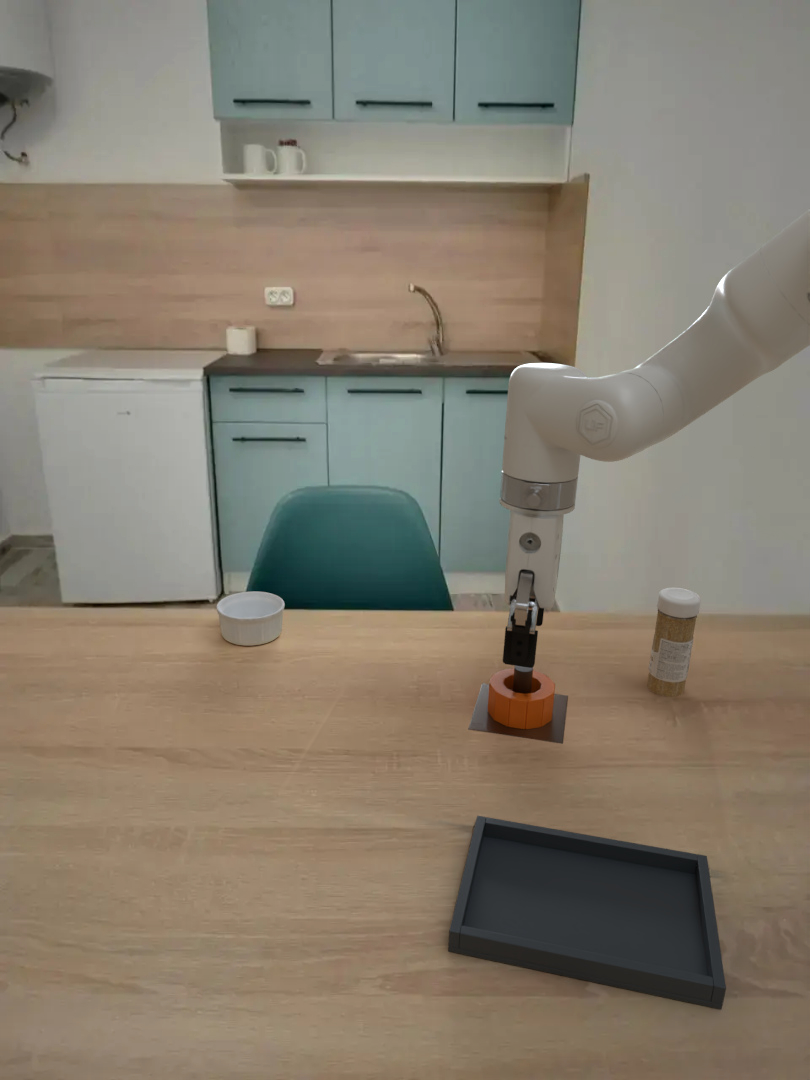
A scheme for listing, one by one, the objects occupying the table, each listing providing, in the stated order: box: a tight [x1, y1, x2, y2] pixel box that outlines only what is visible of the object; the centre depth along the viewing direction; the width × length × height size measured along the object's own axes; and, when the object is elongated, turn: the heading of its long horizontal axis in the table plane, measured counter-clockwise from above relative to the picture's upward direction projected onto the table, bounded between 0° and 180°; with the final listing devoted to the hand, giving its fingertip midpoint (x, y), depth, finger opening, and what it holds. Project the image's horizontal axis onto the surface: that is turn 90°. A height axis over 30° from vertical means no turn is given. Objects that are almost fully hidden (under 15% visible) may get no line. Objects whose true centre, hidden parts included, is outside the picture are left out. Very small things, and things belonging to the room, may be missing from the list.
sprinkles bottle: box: [646, 587, 701, 698], centre depth 95 cm, size 5×5×13 cm
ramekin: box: [216, 590, 286, 647], centre depth 110 cm, size 9×9×4 cm
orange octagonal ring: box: [488, 667, 556, 729], centre depth 91 cm, size 7×7×4 cm
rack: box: [468, 665, 569, 745], centre depth 91 cm, size 10×10×7 cm
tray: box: [447, 815, 727, 1010], centre depth 66 cm, size 20×14×2 cm
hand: (523, 643), depth 89 cm, fingers open, 9 cm apart
